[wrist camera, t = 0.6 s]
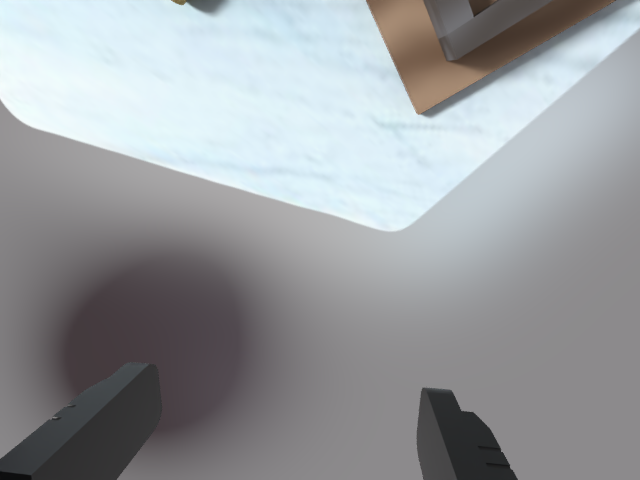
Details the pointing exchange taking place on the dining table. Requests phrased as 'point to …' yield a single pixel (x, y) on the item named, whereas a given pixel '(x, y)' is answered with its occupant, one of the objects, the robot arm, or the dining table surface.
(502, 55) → the wooden peg insertion stand
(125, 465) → the robot arm
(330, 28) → the dining table surface
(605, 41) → the dining table surface
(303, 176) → the dining table surface
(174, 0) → the gavel
